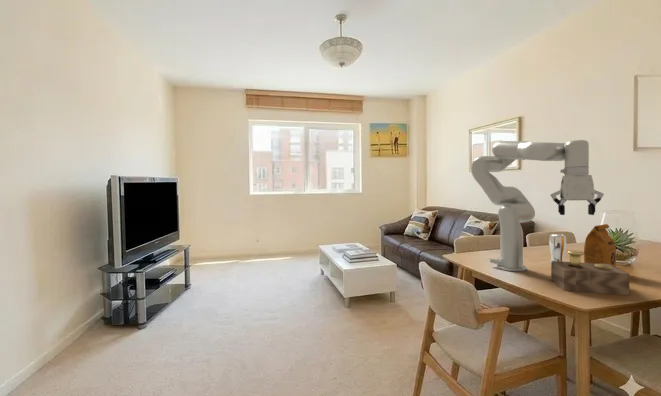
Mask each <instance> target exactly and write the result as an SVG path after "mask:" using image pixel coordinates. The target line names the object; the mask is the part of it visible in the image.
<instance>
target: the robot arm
mask: <svg viewBox="0 0 661 396" xmlns="http://www.w3.org/2000/svg"><path fill="white" fill-rule="evenodd" d="M589 144H590V143H589V142H588V140H585V139H577V140H569V141H567V142H537V141H536V142H535V141H534V142H530V141H525V140H524V141H523V140H522V141H521V140H517V141H516V140H514V141H513V140H506V141H505V140H502V141H497V142H496V143H494V144H493V146H492V149H491V150H492V151H491V152H492V154H493V155H482V156H478V157H476V158H475V159H474V160H473V161H472V163H471V168H470V169H471V175H472V178H474V180H475V182H476V183H477V184H478V185H479V186H480V188H481V189H482V190H483V192H484V194H486V197H487V198H488V199H489V200H490V201H491V203H492V204H493V205H495V206H500V208H499V209H498V212H497V216H498V221H499V227H500V230H499V231H500V233H499V234H500V235H499V236H500V245H499V246H500V254H499V255H500V256H499V257H498V258H490V259H489V263H491V264H496V267H497V269H500V270H504V271H510V272H525V271H527V269H528V267H527V266H526V265H524V231H523V228H522V225H521V223H528V222H531V221H532V220H533V219H535V216H536V212H535V208H534V207H533V205H532V203H531V202H530V201H529V199H528V198H527V197H526V196H525V195H524V194H523V192H522V191H521V190H520V189H519V188H517V187H515V186H505V185H503V184H502V183H501V181H499V179H498V178H497V177H496V176H495V175H493V174H492V173H500V172H502V171H504V170H505V169H506V168H508V167H509V166H510V165H511V164H513V163H514V162H515V161H516V160H520V161H521V160H522V161H525V160H527V161H529V160H530V161H540V162H541V161H542V162H562V161H564V168H563V169H560V171H559V172H560V173H562V174H564V175H562V177H561V182H560V189H559V190H557V191H554V192H552V193H551V194H550V197H551V198H552V200H553V202H555V204H556V205H558V206H557V207H558V208H557V209H558V210H557V211H558V213H559V215H561V216H564V215H565V213H566V208H565V207H566V206H565V203H566V201H586V202H588V205H587V214H588V215H589V216H594V215H595V214H596V205H598V203H599V202H600V201H601V200H602V198H603V197H604V195H605V194H604V192H601V191H599V190H596V189H595V186H594V180H593V175H592V174H590V171H589V169H590V167H589V166H590V165H589V162H590V160H589V159H590V151H589V150H590V149H589V148H590V146H589ZM558 195H559V197H560V199H559V198H558V197H557V196H558ZM595 195H596V197H595Z"/></svg>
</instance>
